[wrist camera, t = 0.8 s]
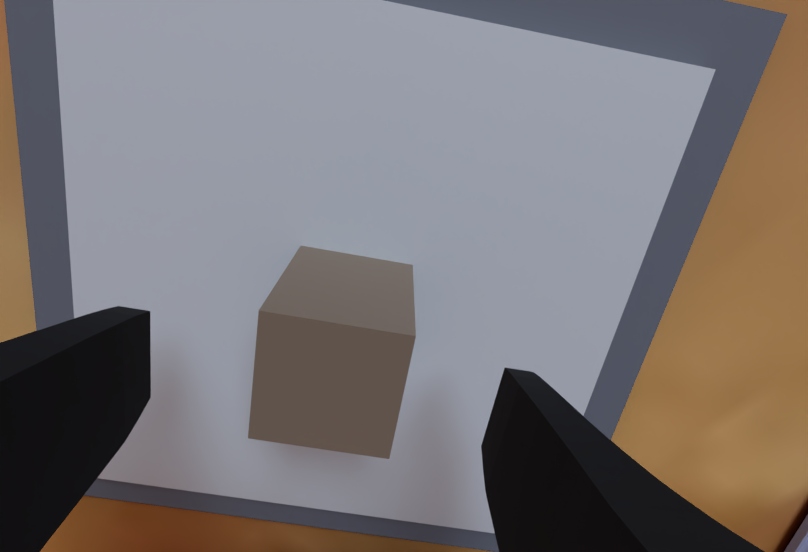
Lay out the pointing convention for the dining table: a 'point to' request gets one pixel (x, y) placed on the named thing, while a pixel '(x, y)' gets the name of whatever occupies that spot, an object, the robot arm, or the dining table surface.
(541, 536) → the robot arm
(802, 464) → the dining table surface
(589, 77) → the lid
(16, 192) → the dining table surface
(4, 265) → the dining table surface
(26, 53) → the mat
